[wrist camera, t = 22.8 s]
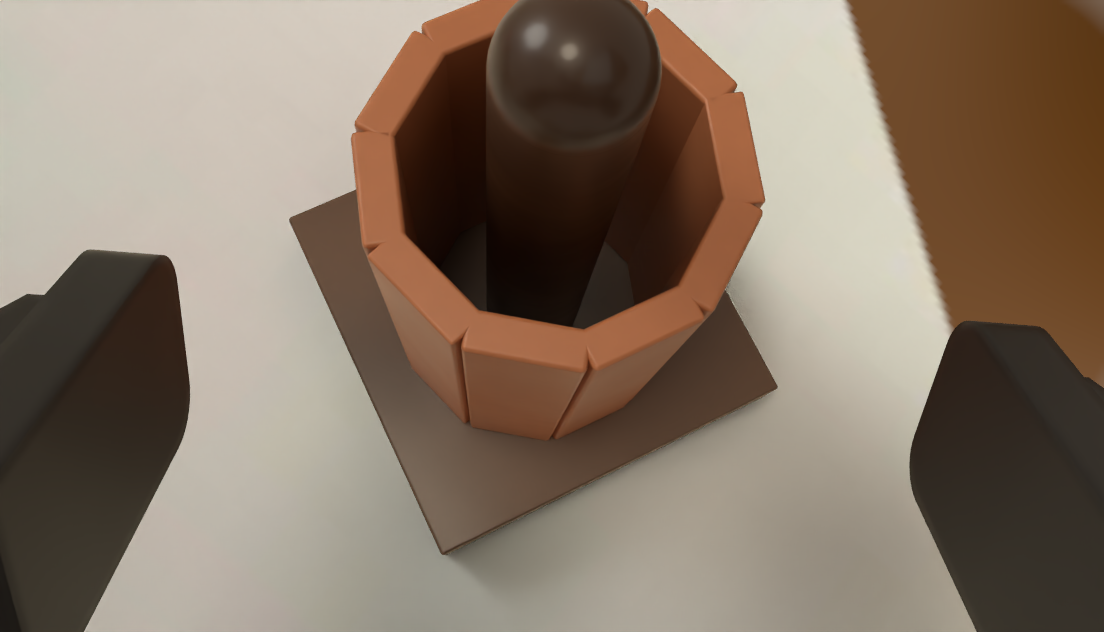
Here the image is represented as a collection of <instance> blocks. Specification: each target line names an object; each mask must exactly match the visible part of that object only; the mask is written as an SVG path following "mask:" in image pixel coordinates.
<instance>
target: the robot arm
mask: <svg viewBox="0 0 1104 632" xmlns="http://www.w3.org/2000/svg"><path fill="white" fill-rule="evenodd" d="M189 404H190V383H189V374H188V366H187V358H186V350H185V341H184V333H183V325H182V317H181V309H180V300H179V292H178V284H177V277H176V272H175V269H174V266H173V264H172V262H171V260H170V259H169V258H168V257H167V256H164V255H154V254H141V253H129V252H116V251H103V250H86V251H84V252H83V253H82V254H81V255H80V256H79V257H78V258H77V259H76V260H75V261H74V262H73V263H72V265H71V266H70V267H69V268H68V269H67V270H66V271H65V272H64V274H63V275H62V276H61V277H60V278H59V279H58V280H57V281H56V283H55V284H54V285H53V286H52V287H51V288H50V289H49V290H48V292H47V293H46V294H45V295H34V294H26V295H25V296H23V297H21V298H19V299H17V300H15V301H14V302H12V303H10V304H8V305H6V306H4V307H2V308H1V309H0V632H84V630H85V628H86V626H87V624H88V623H89V621H90V619H91V617H92V615H93V613H94V611H95V609H96V607H97V605H98V603H99V601H100V599H101V597H102V595H103V593H104V591H105V590H106V588H107V586H108V584H109V582H110V580H111V578H112V576H113V574H114V572H115V570H116V568H117V566H118V564H119V562H120V560H121V558H122V557H123V555H124V553H125V551H126V549H127V547H128V545H129V543H130V541H131V539H132V537H133V535H134V533H135V531H136V529H137V527H138V525H139V524H140V522H141V520H142V518H143V516H144V514H145V512H146V510H147V508H148V506H149V504H150V502H151V500H152V498H153V496H154V494H155V492H156V491H157V489H158V487H159V485H160V483H161V481H162V479H163V477H164V475H165V473H166V471H167V469H168V467H169V465H170V463H171V461H172V459H173V458H174V456H175V454H176V452H177V450H178V448H179V446H180V444H181V441H182V438H183V436H184V432H185V429H186V424H187V420H188V413H189ZM910 481H911V487H912V491H913V495H914V497H915V500H916V502H917V504H918V506H919V509H920V511H921V513H922V515H923V517H924V519H925V522H926V524H927V526H928V528H929V530H930V532H931V534H932V537H933V539H934V541H935V543H936V545H937V547H938V549H939V552H940V554H941V556H942V558H943V560H944V562H945V564H946V567H947V569H948V571H949V573H950V575H951V577H952V579H953V582H954V584H955V586H956V588H957V590H958V592H959V595H960V597H961V599H962V601H963V603H964V605H965V607H966V610H967V612H968V614H969V616H970V618H971V620H972V622H973V625H974V627H975V629H976V631H977V632H1104V388H1103V387H1101V386H1100V385H1098V384H1097V383H1096V382H1094V381H1093V380H1091V379H1090V378H1086V377H1083V375H1082V374H1081V373H1080V372H1079V370H1078V369H1077V368H1076V367H1075V365H1074V364H1073V363H1072V362H1071V361H1070V359H1069V358H1068V357H1067V356H1066V354H1065V353H1064V352H1063V351H1062V349H1061V348H1060V347H1059V346H1058V345H1057V343H1056V342H1055V341H1054V340H1053V338H1052V337H1051V336H1050V335H1049V334H1048V333H1047V331H1045V330H1044V329H1042V328H1041V327H1037V326H1027V325H1015V324H1003V323H990V322H977V321H964V322H962V323H960V324H959V325H958V326H957V327H956V328H955V329H954V331H953V332H952V334H951V336H950V338H949V340H948V342H947V345H946V348H945V351H944V353H943V356H942V359H941V362H940V365H939V368H938V370H937V373H936V376H935V379H934V382H933V384H932V387H931V390H930V393H929V396H928V399H927V401H926V404H925V407H924V410H923V413H922V416H921V418H920V421H919V424H918V427H917V430H916V432H915V435H914V439H913V442H912V447H911V453H910Z"/></svg>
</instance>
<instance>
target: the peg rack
mask: <svg viewBox="0 0 1104 632" xmlns="http://www.w3.org/2000/svg"><path fill="white" fill-rule="evenodd" d="M661 78H662V63H661V54H660V49H659V46H658V42H657V39H656V36H655V34H654V32H653V30H652V27H651V25H650V24H649V22H648V21H647V19H646V18H645V16H644V15H643V14H642V13H641V11H640V10H639V9H638V8H637V7H636V6H635V5H634V4H633V3H632V2H631V1H630V0H519V1H517V2H516V3H515V4H514V5H513V6H512V7H511V8H510V10H509V11H508V12H507V13H506V14H505V15H504V17H503V18H502V20H501V21H500V23H499V24H498V26H497V28H496V30H495V32H494V35H493V37H492V39H491V43H490V46H489V49H488V55H487V62H486V221H485V222H483V223H480V224H478V225H476V226H473V227H471V228H469V229H467V230H464V231H462V232H460V234H459V235H458V237H457V239H456V240H455V242H454V244H453V245H452V247H451V249H450V251H449V252H448V254H447V256H446V257H445V259H444V261H443V262H442V264H441V266H440V268H439V269H440V270H441V271H442V272H443V273H444V275H445V276H446V277H447V278H448V279H449V280H450V281H451V282H452V283H453V284H454V285H455V286H456V287H457V288H458V289H459V290H460V291H461V292H462V293H463V294H464V295H465V296H466V297H467V298H468V299H469V300H470V301H471V302H472V303H473V304H474V305H475V307H476V308H477V309H478V310H482V311H487V312H492V313H498V314H503V315H509V316H514V317H519V318H525V319H530V320H536V321H541V322H547V323H552V324H557V325H563V326H568V327H574V328H579V329H586V328H588V327H590V326H592V325H594V324H596V323H598V322H601V321H603V320H605V319H607V318H609V317H611V316H613V315H616V314H618V313H620V312H622V311H624V310H626V309H628V308H631V307H633V306H635V305H634V299H633V293H632V287H631V281H630V275H629V269H628V263H627V262H626V261H625V260H624V259H623V258H622V257H621V256H620V255H619V254H618V253H617V252H616V251H615V250H614V249H613V248H612V247H611V246H610V245H609V244H608V243H607V242H606V241H605V238H606V235H607V233H608V230H609V227H610V225H611V222H612V219H613V217H614V214H615V211H616V209H617V206H618V203H619V201H620V198H621V195H622V193H623V190H624V187H625V185H626V182H627V179H628V177H629V174H630V171H631V169H632V166H633V163H634V160H635V158H636V155H637V152H638V150H639V147H640V144H641V142H642V139H643V136H644V134H645V131H646V128H647V126H648V123H649V120H650V118H651V115H652V112H653V110H654V107H655V104H656V102H657V98H658V94H659V91H660V86H661ZM289 221H290V224H291V226H292V228H293V230H294V232H295V235H296V237H297V239H298V241H299V243H300V246H301V248H302V250H303V252H304V254H305V257H306V259H307V261H308V263H309V265H310V267H311V270H312V272H313V274H314V276H315V278H316V281H317V283H318V285H319V287H320V289H321V292H322V294H323V296H324V298H325V300H326V303H327V305H328V307H329V309H330V311H331V314H332V316H333V318H334V320H335V322H336V324H337V327H338V329H339V331H340V333H341V335H342V338H343V340H344V342H345V344H346V346H347V349H348V351H349V353H350V355H351V357H352V360H353V362H354V364H355V366H356V368H357V371H358V373H359V375H360V377H361V379H362V382H363V384H364V386H365V388H366V390H367V392H368V395H369V397H370V399H371V401H372V403H373V406H374V408H375V410H376V412H377V414H378V417H379V419H380V421H381V423H382V425H383V428H384V430H385V432H386V434H387V436H388V439H389V441H390V443H391V445H392V447H393V449H394V452H395V454H396V456H397V458H398V460H399V463H400V465H401V467H402V469H403V471H404V474H405V476H406V478H407V480H408V482H409V485H410V487H411V489H412V491H413V493H414V496H415V498H416V500H417V502H418V504H419V507H420V509H421V511H422V513H423V515H424V517H425V520H426V522H427V524H428V526H429V528H430V531H431V533H432V535H433V537H434V539H435V542H436V544H437V546H438V548H439V550H440V553H441V554H442V555H448V554H450V553H452V552H454V551H456V550H458V549H460V548H462V547H464V546H466V545H468V544H470V543H472V542H474V541H476V540H478V539H480V538H482V537H484V536H486V535H488V534H490V533H492V532H494V531H496V530H498V529H500V528H502V527H504V526H506V525H508V524H510V523H512V522H514V521H516V520H518V519H520V518H522V517H524V516H526V515H528V514H530V513H532V512H534V511H536V510H538V509H540V508H542V507H544V506H546V505H548V504H550V503H552V502H554V501H556V500H558V499H560V498H562V497H564V496H566V495H568V494H570V493H572V492H574V491H576V490H578V489H580V488H582V487H584V486H586V485H588V484H590V483H592V482H594V481H596V480H598V479H600V478H602V477H604V476H606V475H608V474H610V473H612V472H614V471H616V470H618V469H620V468H622V467H624V466H626V465H628V464H630V463H632V462H634V461H636V460H638V459H640V458H642V457H644V456H646V455H648V454H650V453H652V452H654V451H656V450H658V449H660V448H662V447H664V446H666V445H668V444H670V443H672V442H674V441H676V440H678V439H680V438H682V437H684V436H686V435H688V434H690V433H692V432H694V431H696V430H698V429H700V428H702V427H704V426H706V425H708V424H710V423H712V422H714V421H716V420H718V419H720V418H722V417H724V416H726V415H728V414H730V413H732V412H734V411H736V410H738V409H740V408H742V407H744V406H746V405H748V404H750V403H752V402H754V401H756V400H758V399H760V398H762V397H763V396H765V395H767V394H769V393H770V392H772V391H774V390H776V389H777V384H776V382H775V381H774V379H773V377H772V375H771V373H770V371H769V370H768V368H767V366H766V364H765V362H764V360H763V359H762V357H761V355H760V353H759V351H758V349H757V347H756V346H755V344H754V342H753V340H752V338H751V336H750V335H749V333H748V331H747V329H746V327H745V325H744V324H743V322H742V320H741V318H740V316H739V314H738V312H737V311H736V309H735V307H734V305H733V303H732V301H731V300H730V298H729V296H728V294H727V292H726V290H724V292H723V294H722V296H721V298H720V300H719V302H718V304H717V306H716V308H715V310H714V311H713V312H712V313H711V315H710V316H709V317H708V318H707V319H706V320H705V321H704V322H703V323H702V324H701V325H700V326H699V327H698V329H697V330H696V331H695V332H694V333H693V334H692V335H691V336H690V337H689V338H688V339H687V340H686V341H685V343H684V344H683V345H682V346H681V347H680V348H679V349H678V350H677V351H676V352H675V353H674V354H673V355H672V357H671V358H670V359H669V360H668V361H667V362H666V363H665V364H664V365H663V366H662V367H661V368H660V369H659V371H658V372H657V373H656V374H655V375H654V376H653V377H652V378H651V379H650V380H649V381H648V382H647V384H646V385H645V386H644V387H643V388H642V389H641V390H640V391H639V392H638V393H637V394H636V395H635V396H634V398H633V399H632V400H630V401H629V402H628V403H627V404H626V405H625V406H624V407H623V408H621V409H619V410H617V411H615V412H613V413H611V414H609V415H607V416H605V417H603V418H601V419H599V420H597V421H594V422H592V423H590V424H588V425H586V426H584V427H582V428H580V429H578V430H576V431H574V432H572V433H570V434H568V435H566V436H564V437H561V438H559V439H555V438H554V437H553V436H551V437H550V439H549V440H547V441H545V440H539V439H534V438H528V437H523V436H517V435H512V434H506V433H501V432H495V431H490V430H484V429H479V428H473V427H472V426H471V423H470V420H469V421H468V422H467V423H463V422H462V421H461V420H460V419H459V418H458V416H457V415H456V414H455V413H454V412H453V411H452V410H451V409H450V408H449V407H448V406H447V405H446V404H445V403H444V402H443V401H442V400H441V398H440V397H439V396H438V395H437V394H436V393H435V392H434V391H433V390H432V389H431V388H430V387H429V386H428V385H427V384H426V383H425V382H424V381H423V379H422V378H421V377H420V376H419V375H418V374H417V373H416V372H415V371H414V370H413V369H412V367H411V365H410V362H409V360H408V358H407V356H406V353H405V351H404V348H403V346H402V343H401V341H400V338H399V336H398V333H397V331H396V328H395V326H394V323H393V321H392V318H391V316H390V313H389V311H388V308H387V306H386V303H385V301H384V298H383V296H382V293H381V291H380V288H379V286H378V283H377V281H376V278H375V276H374V273H373V271H372V268H371V266H370V263H369V261H368V258H367V256H366V253H365V251H364V248H363V246H362V241H361V231H360V221H359V211H358V202H357V192H356V190H354V191H352V192H350V193H347V194H345V195H342V196H340V197H338V198H335V199H333V200H331V201H328V202H326V203H324V204H321V205H319V206H317V207H314V208H312V209H310V210H307V211H305V212H303V213H300V214H298V215H296V216H293V217H291V218H290V219H289Z"/></svg>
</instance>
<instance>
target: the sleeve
mask: <svg viewBox="0 0 1104 632" xmlns="http://www.w3.org/2000/svg"><path fill="white" fill-rule="evenodd" d="M517 1H519V0H480V1H477V2H475V3H472V4H470V5H467V6H465V7H462V8H460V9H457V10H455V11H452V12H450V13H447V14H445V15H442V16H440V17H437V18H435V19H432V20H430V21H427V22H425V23H423V24H422V34H421V33H419V32H417V31H414V32H412V33H411V35H410V36H409V38H408V39H407V41H406V43H405V44H404V46H403V47H402V49H401V50H400V52H399V53H398V55H397V57H396V58H395V60H394V61H393V63H392V64H391V66H390V68H389V69H388V71H387V72H386V74H385V75H384V77H383V79H382V80H381V82H380V83H379V85H378V86H377V88H376V89H375V91H374V93H373V94H372V96H371V97H370V99H369V100H368V102H367V104H366V105H365V107H364V108H363V110H362V111H361V113H360V115H359V116H358V118H357V119H356V121H355V128H356V133H353V134H352V137H351V143H352V153H353V163H354V173H355V182H356V192H357V202H358V211H359V221H360V231H361V241H362V246H363V248H364V251H365V253H366V256H367V258H368V261H369V263H370V266H371V268H372V271H373V273H374V276H375V278H376V281H377V283H378V286H379V288H380V291H381V293H382V296H383V298H384V301H385V303H386V306H387V308H388V311H389V313H390V316H391V318H392V321H393V323H394V326H395V328H396V331H397V333H398V336H399V338H400V341H401V343H402V346H403V348H404V351H405V353H406V356H407V358H408V360H409V362H410V365H411V367H412V369H413V370H414V371H415V372H416V373H417V374H418V375H419V376H420V377H421V378H422V379H423V381H424V382H425V383H426V384H427V385H428V386H429V387H430V388H431V389H432V390H433V391H434V392H435V393H436V394H437V395H438V396H439V397H440V398H441V400H442V401H443V402H444V403H445V404H446V405H447V406H448V407H449V408H450V409H451V410H452V411H453V412H454V413H455V414H456V415H457V416H458V418H459V419H460V420H461V421H462V422H463V423H467V422H468V421H469V420H470V423H471V426H472V427H473V428H479V429H484V430H490V431H495V432H501V433H506V434H512V435H517V436H523V437H528V438H534V439H539V440H545V441H547V440H549V439H550V437H551V436H553V437H554V438H555V439H559V438H561V437H564V436H566V435H568V434H570V433H572V432H574V431H576V430H578V429H580V428H582V427H584V426H586V425H588V424H590V423H592V422H594V421H597V420H599V419H601V418H603V417H605V416H607V415H609V414H611V413H613V412H615V411H617V410H619V409H621V408H623V407H624V406H625V405H626V404H627V403H628V402H629V401H630V400H632V399H633V398H634V396H635V395H636V394H637V393H638V392H639V391H640V390H641V389H642V388H643V387H644V386H645V385H646V384H647V382H648V381H649V380H650V379H651V378H652V377H653V376H654V375H655V374H656V373H657V372H658V371H659V369H660V368H661V367H662V366H663V365H664V364H665V363H666V362H667V361H668V360H669V359H670V358H671V357H672V355H673V354H674V353H675V352H676V351H677V350H678V349H679V348H680V347H681V346H682V345H683V344H684V343H685V341H686V340H687V339H688V338H689V337H690V336H691V335H692V334H693V333H694V332H695V331H696V330H697V329H698V327H699V326H700V325H701V324H702V323H703V322H704V321H705V320H706V319H707V318H708V317H709V316H710V315H711V313H712V312H713V311H714V310H715V308H716V306H717V304H718V302H719V300H720V298H721V296H722V294H723V292H724V290H725V288H726V286H727V284H728V282H729V281H730V279H731V277H732V275H733V273H734V271H735V269H736V267H737V265H738V263H739V261H740V259H741V257H742V255H743V253H744V251H745V249H746V247H747V245H748V243H749V241H750V239H751V237H752V235H753V233H754V231H755V229H756V227H757V225H758V223H759V221H760V219H761V217H762V210H761V209H760V207H761V206H762V205H763V203H764V202H765V196H764V191H763V186H762V181H761V177H760V172H759V167H758V162H757V157H756V152H755V147H754V142H753V137H752V132H751V127H750V122H749V117H748V112H747V107H746V102H745V97H744V94H743V92H736V93H734V91H735V89H736V87H737V84H736V82H735V81H734V80H733V79H732V78H731V77H730V76H729V75H728V74H727V73H726V72H725V71H724V70H723V69H721V68H720V67H719V66H718V65H717V64H716V63H715V62H714V61H713V60H712V59H711V58H710V57H709V56H708V55H707V54H706V53H705V52H703V51H702V50H701V49H700V48H699V47H698V46H697V45H696V44H695V43H694V42H693V41H692V40H691V39H690V38H689V37H688V36H687V35H685V34H684V33H683V32H682V31H681V30H680V29H679V28H678V27H677V26H676V25H675V24H674V23H673V22H672V21H671V20H670V19H669V18H667V17H666V16H665V15H664V14H663V13H662V12H661V11H660V10H659V9H657V8H655V9H653V10H651V11H650V12H649V13H648V14H647V11H648V3H647V2H645V1H640V0H630V1H631V2H632V3H633V4H634V5H635V6H636V7H637V8H638V9H639V10H640V11H641V13H642V14H643V15H644V16H645V18H646V19H647V21H648V22H649V24H650V25H651V27H652V30H653V32H654V34H655V36H656V39H657V42H658V46H659V49H660V54H661V63H662V78H661V86H660V91H659V94H658V98H657V102H656V104H655V107H654V110H653V112H652V115H651V118H650V120H649V123H648V126H647V128H646V131H645V134H644V136H643V139H642V142H641V144H640V147H639V150H638V152H637V155H636V158H635V160H634V163H633V166H632V169H631V171H630V174H629V177H628V179H627V182H626V185H625V187H624V190H623V193H622V195H621V198H620V201H619V203H618V206H617V209H616V211H615V214H614V217H613V219H612V222H611V225H610V227H609V230H608V233H607V235H606V238H605V241H606V242H607V243H608V244H609V245H610V246H611V247H612V248H613V249H614V250H615V251H616V252H617V253H618V254H619V255H620V256H621V257H622V258H623V259H624V260H625V261H626V262H627V263H628V269H629V275H630V281H631V287H632V293H633V299H634V305H635V306H633V307H631V308H628V309H626V310H624V311H622V312H620V313H618V314H616V315H613V316H611V317H609V318H607V319H605V320H603V321H601V322H598V323H596V324H594V325H592V326H590V327H588V328H586V329H579V328H574V327H568V326H563V325H557V324H552V323H547V322H541V321H536V320H530V319H525V318H519V317H514V316H509V315H503V314H498V313H492V312H487V311H482V310H478V309H477V308H476V307H475V305H474V304H473V303H472V302H471V301H470V300H469V299H468V298H467V297H466V296H465V295H464V294H463V293H462V292H461V291H460V290H459V289H458V288H457V287H456V286H455V285H454V284H453V283H452V282H451V281H450V280H449V279H448V278H447V277H446V276H445V275H444V273H443V272H442V271H441V270H440V269H439V268H440V266H441V264H442V262H443V261H444V259H445V257H446V256H447V254H448V252H449V251H450V249H451V247H452V245H453V244H454V242H455V240H456V239H457V237H458V235H459V234H460V232H462V231H464V230H467V229H469V228H471V227H473V226H476V225H478V224H480V223H483V222H485V221H486V62H487V55H488V49H489V46H490V43H491V39H492V37H493V35H494V32H495V30H496V28H497V26H498V24H499V23H500V21H501V20H502V18H503V17H504V15H505V14H506V13H507V12H508V11H509V10H510V8H511V7H512V6H513V5H514V4H515V3H516V2H517Z"/></svg>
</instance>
